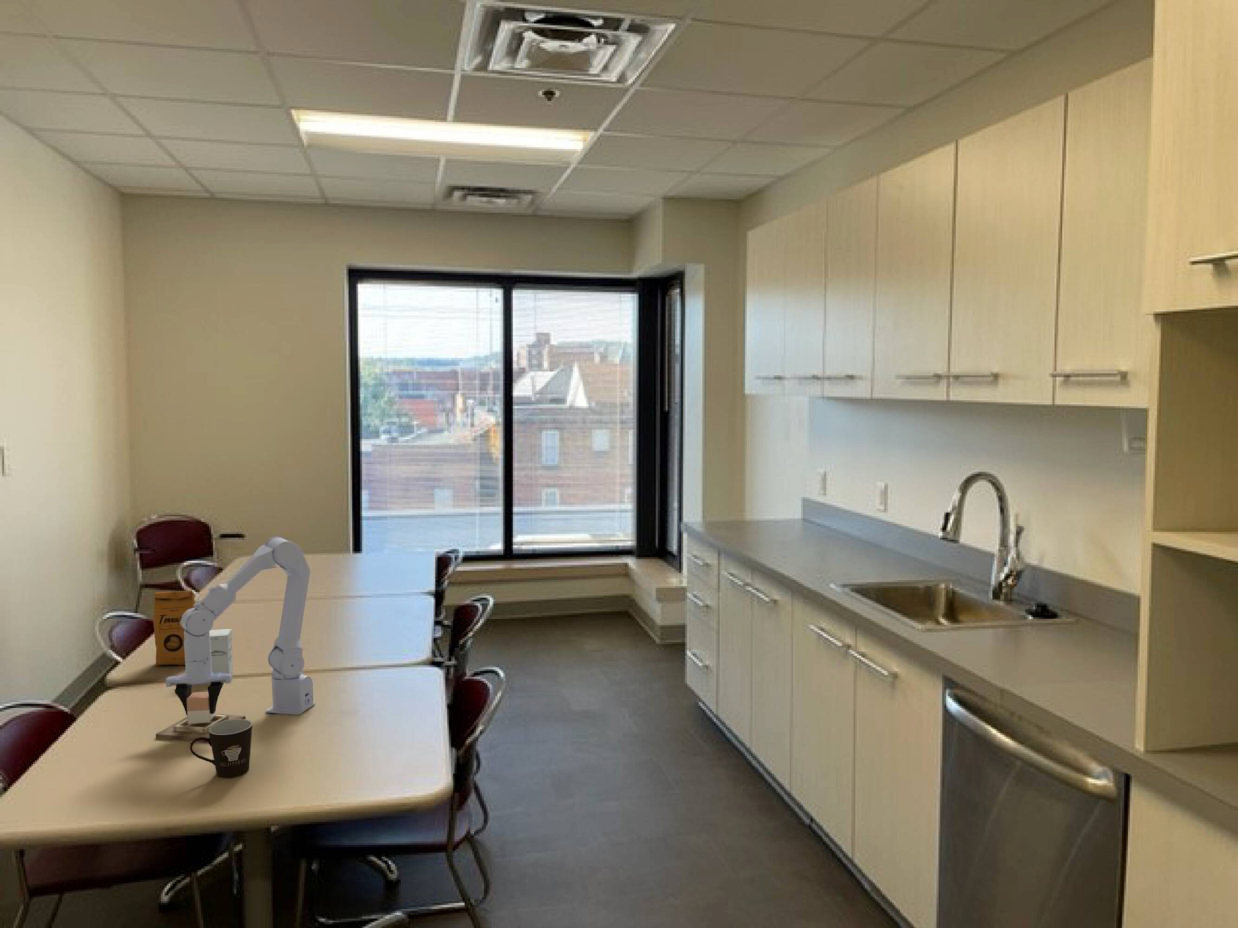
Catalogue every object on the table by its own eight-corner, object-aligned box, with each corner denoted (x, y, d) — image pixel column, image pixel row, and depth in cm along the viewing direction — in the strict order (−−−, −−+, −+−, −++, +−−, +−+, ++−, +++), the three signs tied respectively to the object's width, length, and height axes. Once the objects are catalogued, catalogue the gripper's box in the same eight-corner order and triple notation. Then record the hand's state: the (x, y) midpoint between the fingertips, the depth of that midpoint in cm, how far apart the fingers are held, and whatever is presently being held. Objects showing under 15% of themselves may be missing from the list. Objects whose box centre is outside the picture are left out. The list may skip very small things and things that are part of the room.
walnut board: (245, 719, 216) (245, 712, 216) (208, 742, 203) (207, 734, 202) (195, 715, 219) (195, 708, 219) (155, 737, 205) (155, 729, 205)
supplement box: (201, 680, 246) (199, 636, 245) (206, 672, 253) (204, 629, 252) (229, 677, 248) (227, 634, 247) (234, 669, 255) (232, 627, 254)
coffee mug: (260, 762, 192) (258, 718, 191) (245, 780, 183) (243, 734, 182) (207, 763, 191) (204, 719, 190) (189, 781, 183) (186, 735, 182)
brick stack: (215, 714, 214) (213, 691, 213) (209, 722, 209) (208, 697, 208) (194, 716, 213) (193, 692, 212) (187, 723, 208) (186, 699, 208)
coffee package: (195, 666, 258) (191, 594, 256) (150, 668, 256) (146, 595, 254) (206, 656, 268) (203, 586, 266) (164, 658, 266) (160, 587, 264)
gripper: (234, 651, 214) (237, 705, 216) (171, 654, 212) (174, 708, 213) (226, 660, 207) (229, 715, 209) (161, 664, 205) (164, 719, 206)
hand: (201, 713), depth 210 cm, fingers closed on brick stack, 5 cm apart
